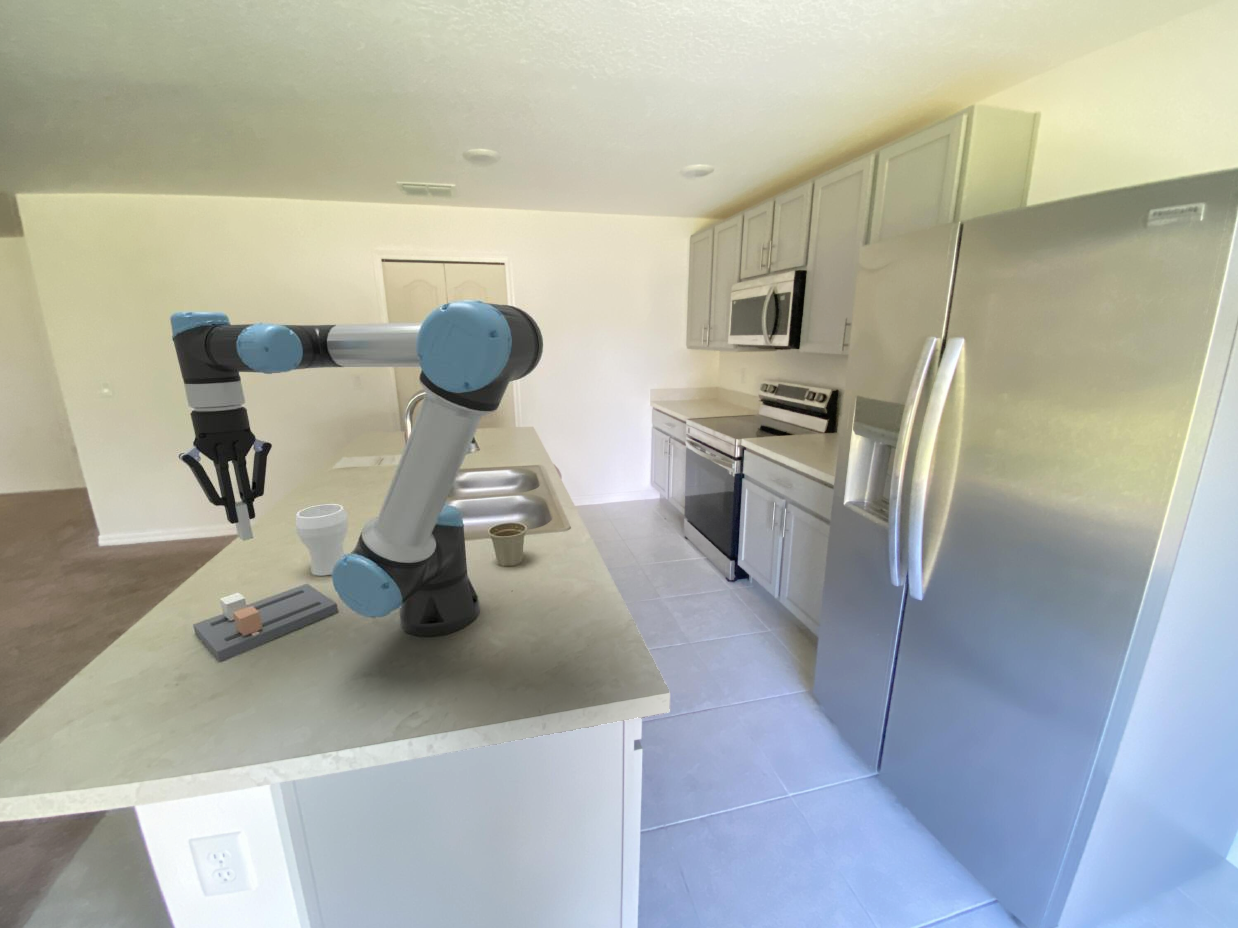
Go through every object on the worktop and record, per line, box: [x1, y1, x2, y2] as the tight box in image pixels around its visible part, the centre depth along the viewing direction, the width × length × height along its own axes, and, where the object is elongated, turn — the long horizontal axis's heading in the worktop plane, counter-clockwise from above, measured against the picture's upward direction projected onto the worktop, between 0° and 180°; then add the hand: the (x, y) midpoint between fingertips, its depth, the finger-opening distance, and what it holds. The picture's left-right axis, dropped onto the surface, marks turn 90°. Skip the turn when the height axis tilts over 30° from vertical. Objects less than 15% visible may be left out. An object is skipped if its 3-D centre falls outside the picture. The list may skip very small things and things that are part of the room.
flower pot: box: [487, 522, 528, 567], centre depth 124 cm, size 9×9×9 cm
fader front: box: [233, 606, 263, 636], centre depth 92 cm, size 4×3×4 cm
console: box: [192, 583, 339, 663], centre depth 99 cm, size 14×20×2 cm
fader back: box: [219, 592, 247, 621], centre depth 97 cm, size 4×3×4 cm
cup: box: [295, 503, 349, 577], centre depth 120 cm, size 11×11×15 cm
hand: (245, 537), depth 90 cm, fingers closed
